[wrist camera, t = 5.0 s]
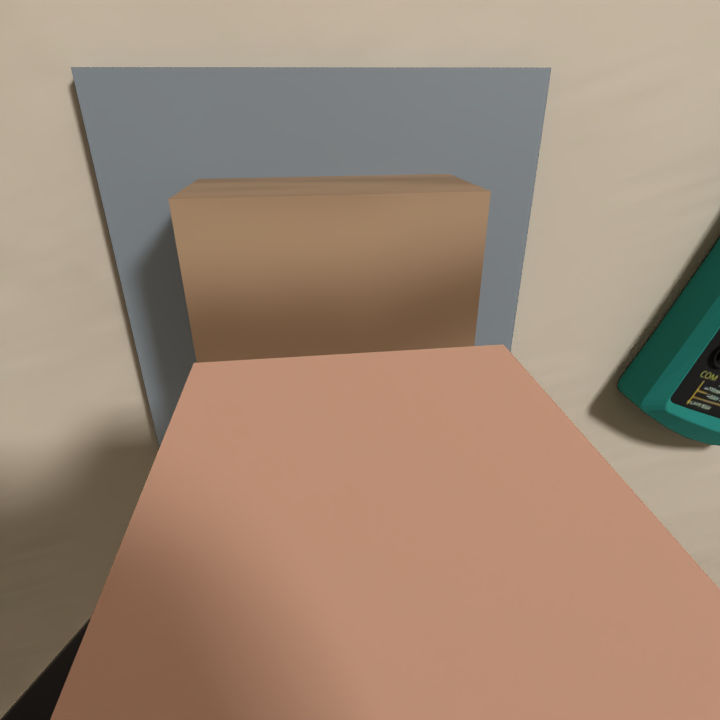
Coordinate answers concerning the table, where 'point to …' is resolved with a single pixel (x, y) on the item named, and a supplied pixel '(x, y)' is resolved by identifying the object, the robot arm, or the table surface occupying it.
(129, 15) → the table surface
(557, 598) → the terracotta cube
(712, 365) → the digital multimeter
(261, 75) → the grey flat square plate
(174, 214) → the walnut base block
